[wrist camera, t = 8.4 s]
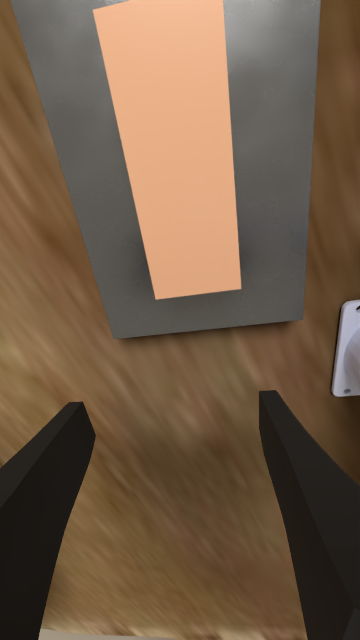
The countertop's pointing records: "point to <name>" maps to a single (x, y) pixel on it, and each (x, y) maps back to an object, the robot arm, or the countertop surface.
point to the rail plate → (248, 160)
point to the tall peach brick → (176, 137)
